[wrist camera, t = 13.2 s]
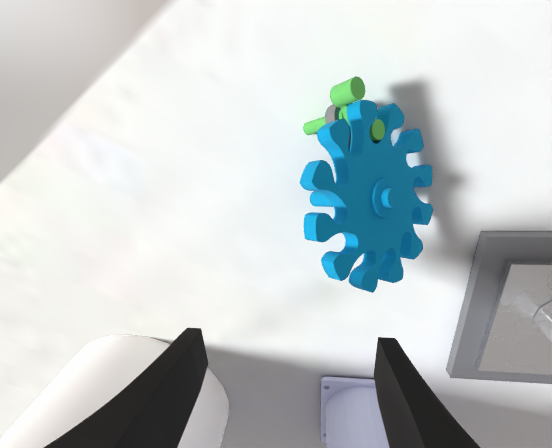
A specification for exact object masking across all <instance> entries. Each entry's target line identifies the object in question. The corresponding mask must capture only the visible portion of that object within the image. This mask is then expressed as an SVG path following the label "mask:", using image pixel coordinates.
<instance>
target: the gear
mask: <svg viewBox="0 0 552 448" xmlns="http://www.w3.org/2000/svg"><path fill="white" fill-rule="evenodd" d="M364 95H365V86H364V83H363V81H362V79H361V78H359V77H354V78H351V79H349V80H347V81H345V82H343V83H340V84H338V85H336V86H334V87H333V88H332V89H331V92H330V98H331V101H332V103H333V105H331V106H329V107H328V109H327V111H326V114H325V117H322V118H319V119H316V120H314V121H311V122H308V123H305V124H304V127H303V130H304V132H305V134H307V135H311V134H314V133H317V137H318V140H319V142H320V143H321V145H322V146H323V147H324V148H325V149H326V150H327V151H328V152H329V154H330V156H331V158H332V160H333V163H334V167H335V172H336V183H335V182H334V178H333V173H332V169H331V167H330V165H329V164H328V163H327V162H326V161H324V160H319V161H313V162H309V163H308V164H307V165H306V167H305V169H304V171H303V174H302V177H301V180H300V184H301V186H302V187H303V188H304V189H306V190H308V191H314V192H313V193H312V194H311V196H310V202H311V204H312V205H313V206H326V207H334V208H335V217H334V219H332V218H331V217H330V216H329V215H328V214H326V213H308V214H306V215H305V218H304V234H305V239H307V240H312V241H318V242H325V241H327V240H328V239H329V238H331V237H332V236H333V235H335V234H338V233H343V234H344V236H345V239H346V244H345V247H344V249H343V250H342V251H341V252H333V251H329V252H327V253H325V254H324V256H323V257H322V259H321V261H322V265H323V268H324V270H325V272H326V274H327V275H328V276H329V277H330V278H333V279H337V280H340V281H342V280H345V279H346V278H347V277H348V275H349V274H350V271H351V268H352V266H353V265H354V263H355V261H356V260H357V259H358V258H359V257H360V256H361V255H362V254H363V253H364V259H363V262H362V263H361V265H359V266H358V267H356V268H355V269H354V270H353V271H352V272H351V274H350V277H349V283H350V284H351V285H352V286H354V287H356V288H359V289H362V290H366V291H369V292H372V293H373V292H374V291H375V289H376V287H377V282H378V279H380V280H384V281H388V282H392V283H394V282H398V281H400V280H402V278H403V267H402V264H401V259H400V257H402V258H408V259H415V258H416V257H417V256H418V255H419V254H420V253H421V251H422V249H423V244H422V241H421V240H420V239H419V238H418V237H417V235H416V233H415V231H414V228H413V224H422V225H428V224H429V222H430V219H431V216H432V212H433V207H432V205H431V204H426V203H423V202H422V201H420V200H419V198H418V197H417V195H416V193H415V191H414V188H413V187H429V186H431V184H432V167H431V166H430V165H422V166H414V167H413V168H411V167H409V166H408V164H407V162H406V154H408V153H414V152H420V151H421V150H422V149H423V140H422V136H421V133H420V131H419V129H413V130H408V131H404V132H402V133H401V134H400V136H399V139H398V141H397V142H396V144H395V145H394V146H392V143H391V133H392V131H393V130H394V129H397V128H400V127H401V126H402V124H403V122H404V115H403V113H402V111H401V110H400V109H399V107H398V106H397V105H396V104H395V103H393V104H389V105H386V106H383V107H380V108H379V110H378V111H377V106H376V104H375V103H374V102H371V101H368V100H361V99H362V98H363V97H364ZM358 100H360V101H358ZM355 101H357V102H355ZM352 102H354V103H352ZM375 119H376V120H375Z"/></svg>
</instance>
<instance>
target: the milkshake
mask: <svg viewBox="0 0 552 448" xmlns="http://www.w3.org/2000/svg"><path fill="white" fill-rule="evenodd" d="M533 322H534V324H535V327H536V330H537V331H538V333H539V334H540V335H541V337H542V338H543V339H544V340H545V342H546V343H547V344H548V345H549V347H550V348H551V349H552V301H551V302H549V303H548V304H546V305H544V306H542V307H540V308H539V310H538V311H537V313H536V315H535V316H534V318H533Z"/></svg>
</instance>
